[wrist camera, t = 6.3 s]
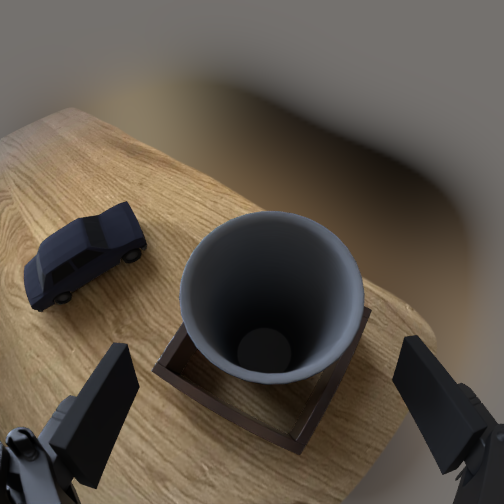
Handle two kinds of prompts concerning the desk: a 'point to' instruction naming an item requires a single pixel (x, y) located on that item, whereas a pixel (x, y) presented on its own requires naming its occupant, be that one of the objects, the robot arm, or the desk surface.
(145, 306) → the desk surface
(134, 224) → the toy car
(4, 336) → the desk surface
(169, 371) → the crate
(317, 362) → the cup
